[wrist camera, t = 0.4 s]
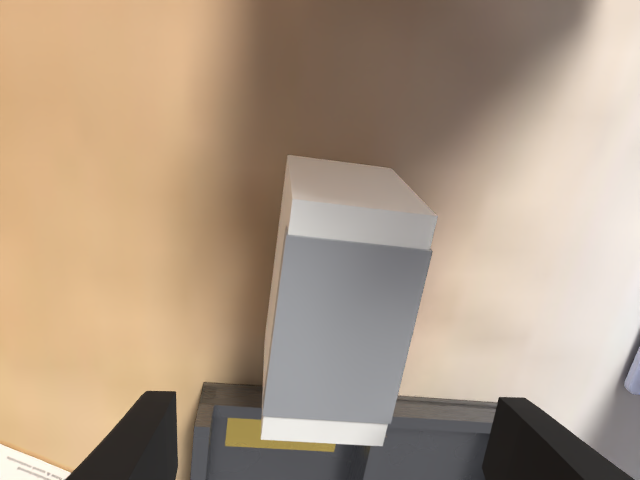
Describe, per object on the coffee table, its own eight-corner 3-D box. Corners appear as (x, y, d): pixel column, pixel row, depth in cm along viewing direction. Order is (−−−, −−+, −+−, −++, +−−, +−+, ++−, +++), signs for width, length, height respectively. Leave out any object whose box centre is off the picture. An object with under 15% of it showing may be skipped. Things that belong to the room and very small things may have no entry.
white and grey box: (392, 167, 19) (440, 217, 14) (356, 345, 22) (384, 448, 16) (286, 154, 19) (290, 199, 13) (263, 337, 21) (258, 441, 16)
